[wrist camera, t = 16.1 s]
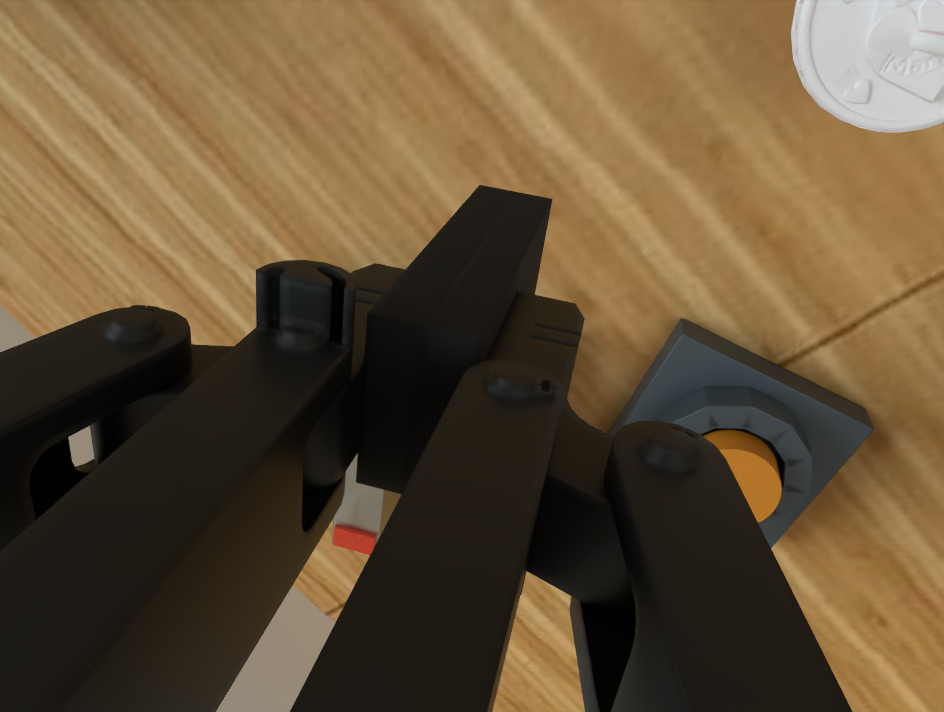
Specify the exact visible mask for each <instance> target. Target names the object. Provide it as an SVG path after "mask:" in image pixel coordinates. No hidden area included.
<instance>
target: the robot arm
mask: <svg viewBox="0 0 944 712" xmlns="http://www.w3.org/2000/svg"><path fill="white" fill-rule="evenodd" d="M551 203H552V199H549V198H544V197H539V196H534V195H529V194H524V193H518V192H513V191H508V190H503V189H498V188H493V187H487V186H482V185H479V187H478V188H477V189H476V190H475V191H474V192H473V193H472V195H471V196H470V197H469V198H468V199H467V200H466V201H465V202H464V204H463V205H462V206H461V207H460V208H459V209H458V210H457V212H456V213H455V214H454V215H453V216H452V217H451V218H450V220H449V221H448V222H447V223H446V224H445V225H444V226H443V228H442V229H441V230H440V231H439V232H438V233H437V234H436V236H435V237H434V238H433V239H432V240H431V241H430V242H429V244H428V245H427V246H426V247H425V248H424V249H423V250H422V252H421V253H420V254H419V255H418V256H417V257H416V258H415V260H414V261H413V262H412V263H411V264H410V265H409V266H408V268H407V269H406V270H404V269H400V268H395V267H390V266H386V265H381V264H376V263H375V264H372V265H370V266H367V267H364V268H361V269H359V270H356V271H353V272H352V273H351V274H350V273H349V272H347V271H345V270H344V269H342V268H340V267H337V266H334V265H330V264H327V263H323V262H315V261H308V260H292V261H281V262H276V263H271V264H267V265H265V266H263V267H261V268H259V269H257V270H256V314H257V327H256V328H255V329H254V330H253V331H252V332H250V333H249V334H248V335H247V336H246V337H245V338H244V339H242V340H241V341H240V342H239V343H238V344H237V345H236V346H209V345H191V332H190V326H189V324H188V322H187V320H186V319H185V318H184V317H182V316H180V315H179V314H177V313H176V312H173V311H169V310H165V309H161V308H159V307H154V306H147V307H145V305H134V306H131V307H128V308H118V309H114V310H110V311H106V312H103V313H99V314H96V315H94V316H91V317H89V318H86V319H84V320H81V321H79V322H76V323H74V324H71V325H69V326H66V327H64V328H61V329H58V330H56V331H53V332H51V333H48V334H46V335H43V336H41V337H38V338H36V339H33V340H31V341H28V342H26V343H23V344H21V345H18V346H16V347H13V348H11V349H8V350H5V351H3V352H0V712H216V710H217V709H218V707H219V705H220V704H221V702H222V700H223V699H224V697H225V695H226V694H227V692H228V691H229V689H230V687H231V686H232V684H233V682H234V681H235V679H236V677H237V676H238V674H239V672H240V671H241V669H242V667H243V666H244V664H245V662H246V661H247V659H248V658H249V656H250V654H251V653H252V651H253V649H254V648H255V646H256V644H257V643H258V641H259V639H260V638H261V636H262V634H263V633H264V631H265V630H266V628H267V626H268V625H269V623H270V621H271V620H272V618H273V616H274V615H275V613H276V611H277V610H278V608H279V606H280V605H281V603H282V602H283V600H284V598H285V597H286V595H287V593H288V592H289V590H290V588H291V587H292V585H293V583H294V582H295V580H296V578H297V577H298V575H299V573H300V572H301V570H302V569H303V567H304V565H305V564H306V562H307V560H308V559H309V557H310V555H311V554H312V552H313V550H314V549H315V547H316V545H317V544H318V542H319V541H320V539H321V537H322V536H323V534H324V532H325V531H326V529H327V527H328V526H329V524H330V522H331V521H332V519H333V517H334V516H335V514H336V513H337V511H338V509H339V508H340V506H341V504H342V500H343V497H344V493H345V476H346V470H347V469H348V467H349V466H350V464H351V463H352V461H353V460H354V458H355V456H356V455H357V453H358V458H357V472H356V483H359V484H363V485H367V486H371V487H375V488H379V489H383V490H387V491H390V492H394V493H398V494H402V495H401V497H400V499H399V500H398V502H397V504H396V506H395V508H394V510H393V512H392V514H391V516H390V518H389V520H388V522H387V524H386V526H385V528H384V530H383V532H382V534H381V536H380V537H379V539H378V541H377V543H376V545H375V547H374V549H373V551H372V553H371V555H370V557H369V559H368V561H367V563H366V565H365V567H364V569H363V571H362V573H361V574H360V576H359V578H358V580H357V582H356V584H355V586H354V588H353V590H352V592H351V594H350V596H349V598H348V600H347V602H346V604H345V606H344V608H343V610H342V611H341V613H340V615H339V617H338V619H337V621H336V623H335V626H334V627H333V629H332V631H331V633H330V635H329V637H328V639H327V641H326V643H325V645H324V647H323V649H322V650H321V652H320V654H319V656H318V658H317V660H316V662H315V664H314V666H313V668H312V670H311V672H310V674H309V676H308V678H307V680H306V682H305V684H304V685H303V687H302V689H301V691H300V693H299V695H298V697H297V699H296V701H295V703H294V705H293V707H292V709H291V711H290V712H492V710H493V706H494V702H495V698H496V694H497V690H498V685H499V681H500V677H501V673H502V669H503V665H504V661H505V656H506V652H507V648H508V644H509V640H510V636H511V632H512V627H513V623H514V619H515V615H516V611H517V607H518V603H519V598H520V595H521V593H522V589H523V584H524V580H525V575H526V571H528V572H530V573H531V574H533V575H535V576H537V577H539V578H540V579H542V580H544V581H546V582H548V583H549V584H551V585H553V586H555V587H556V588H558V589H560V590H562V591H564V592H565V593H567V594H569V595H571V603H570V616H571V622H572V629H573V635H574V642H575V648H576V655H577V661H578V668H579V674H580V681H581V687H582V694H583V700H584V707H585V712H852V710H851V708H850V706H849V704H848V702H847V700H846V698H845V696H844V694H843V692H842V690H841V688H840V686H839V684H838V682H837V680H836V678H835V676H834V674H833V672H832V670H831V668H830V666H829V664H828V662H827V660H826V658H825V656H824V654H823V652H822V650H821V648H820V646H819V644H818V642H817V640H816V638H815V636H814V634H813V632H812V630H811V628H810V626H809V624H808V622H807V620H806V618H805V616H804V614H803V612H802V610H801V608H800V606H799V604H798V602H797V600H796V598H795V596H794V594H793V592H792V590H791V588H790V586H789V584H788V582H787V580H786V578H785V576H784V574H783V572H782V570H781V568H780V566H779V564H778V562H777V560H776V558H775V556H774V554H773V552H772V550H771V548H770V546H769V544H768V542H767V540H766V538H765V536H764V534H763V532H762V530H761V528H760V526H759V524H758V522H757V520H756V518H755V516H754V514H753V512H752V510H751V508H750V506H749V504H748V502H747V500H746V498H745V496H744V494H743V492H742V490H741V488H740V486H739V484H738V482H737V480H736V478H735V476H734V474H733V472H732V470H731V468H730V466H729V464H728V462H727V460H726V458H725V457H724V456H723V454H722V453H721V452H720V451H719V449H718V448H717V447H716V446H715V445H714V444H713V443H711V442H710V441H708V440H707V439H706V438H704V437H703V436H701V435H700V434H698V433H696V432H695V431H693V430H691V429H688V428H687V429H686V428H684V426H681V425H677V424H674V423H666V422H661V421H636V422H633V423H630V424H627V425H624V426H622V427H621V428H620V429H619V430H618V431H617V432H616V434H615V435H614V437H613V436H610V435H608V434H606V433H604V432H602V431H600V430H598V429H596V428H594V427H592V426H590V425H589V424H587V423H586V422H585V421H584V420H582V419H581V418H580V417H578V416H577V414H576V413H575V412H574V411H573V410H572V409H571V407H570V405H569V402H568V400H567V395H568V391H569V386H570V382H571V377H572V373H573V368H574V364H575V359H576V355H577V350H578V346H579V341H580V337H581V333H582V328H583V324H584V317H583V315H582V314H581V312H580V310H579V309H578V307H577V305H576V304H575V303H570V302H566V301H561V300H556V299H551V298H547V297H542V296H537V295H535V290H536V284H537V279H538V274H539V268H540V263H541V257H542V252H543V246H544V241H545V236H546V230H547V225H548V219H549V214H550V209H551ZM88 426H90V429H91V437H92V443H93V450H94V458H95V459H93V460H91V461H89V462H88V463H86V464H83V465H79V466H76V467H75V466H74V464H73V462H72V459H71V452H70V446H69V440H68V437H69V436H71V435H73V434H74V433H77V432H78V431H80V430H82V429H84V428H86V427H88Z"/></svg>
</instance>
